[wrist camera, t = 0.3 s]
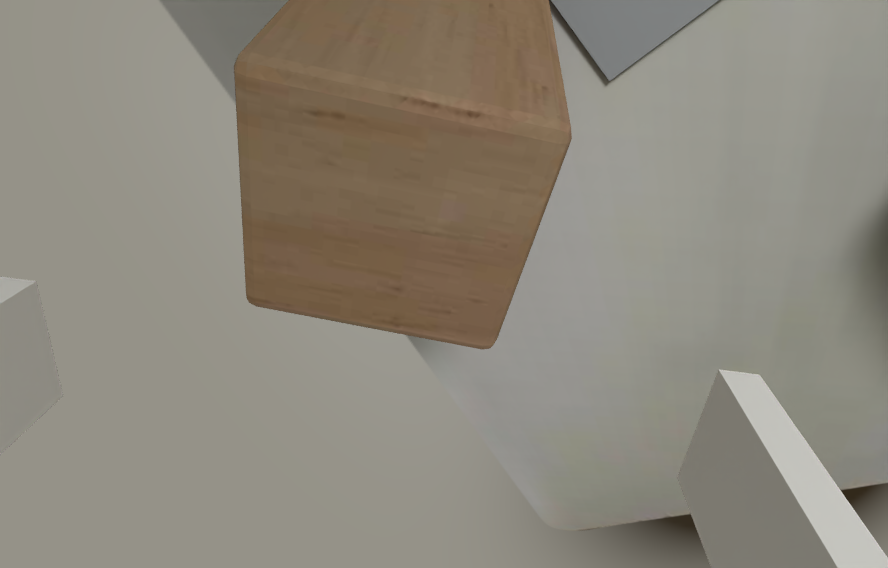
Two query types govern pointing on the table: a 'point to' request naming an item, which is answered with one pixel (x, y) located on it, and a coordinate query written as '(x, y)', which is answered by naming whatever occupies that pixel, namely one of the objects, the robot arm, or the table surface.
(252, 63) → the wooden block
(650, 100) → the table surface
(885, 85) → the table surface
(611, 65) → the grey mat
